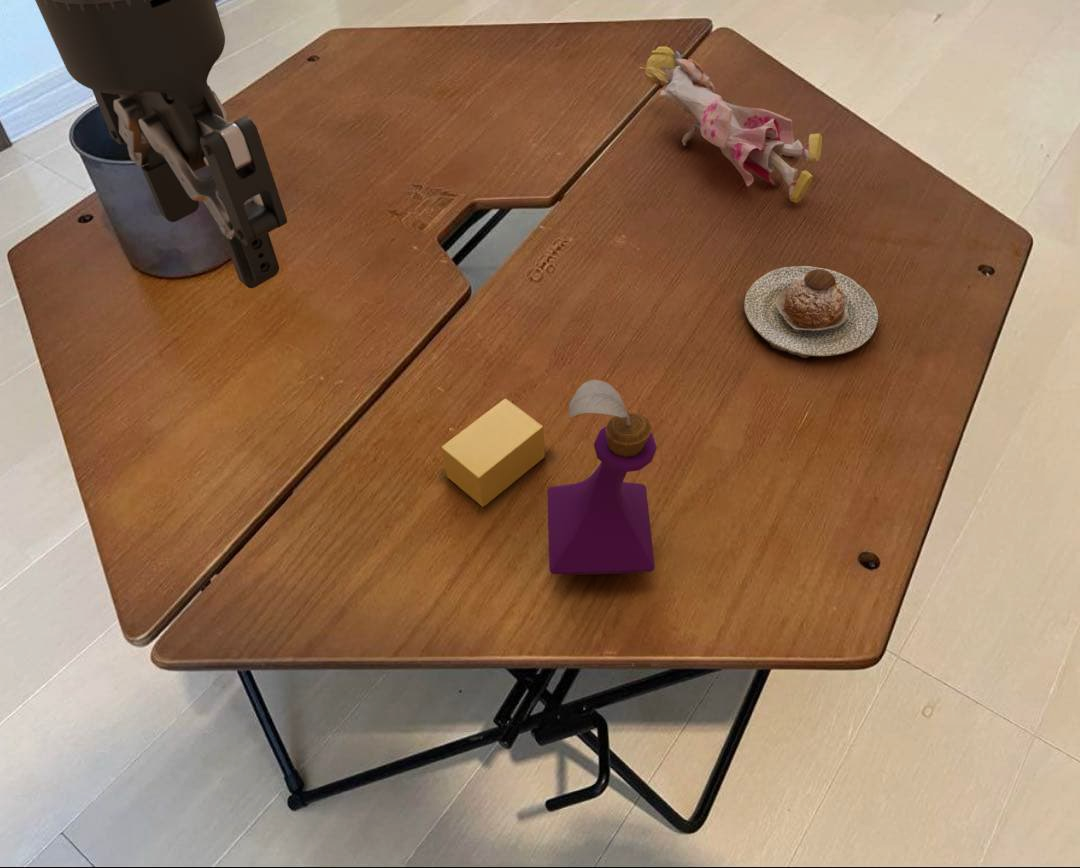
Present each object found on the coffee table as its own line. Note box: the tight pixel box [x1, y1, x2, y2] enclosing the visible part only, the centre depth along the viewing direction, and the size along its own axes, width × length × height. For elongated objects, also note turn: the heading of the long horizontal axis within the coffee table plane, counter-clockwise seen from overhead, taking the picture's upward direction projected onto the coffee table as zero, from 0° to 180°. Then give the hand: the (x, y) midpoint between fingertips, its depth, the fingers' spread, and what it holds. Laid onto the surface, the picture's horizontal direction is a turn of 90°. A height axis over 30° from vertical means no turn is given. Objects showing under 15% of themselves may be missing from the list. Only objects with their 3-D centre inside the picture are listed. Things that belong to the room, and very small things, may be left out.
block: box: [440, 398, 546, 508], centre depth 73 cm, size 7×4×4 cm, turn 135°
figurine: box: [638, 46, 823, 204], centre depth 96 cm, size 12×12×25 cm
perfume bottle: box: [546, 379, 657, 576], centre depth 62 cm, size 8×8×18 cm
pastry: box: [743, 265, 879, 359], centre depth 82 cm, size 12×12×5 cm
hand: (220, 245), depth 53 cm, fingers open, 8 cm apart
